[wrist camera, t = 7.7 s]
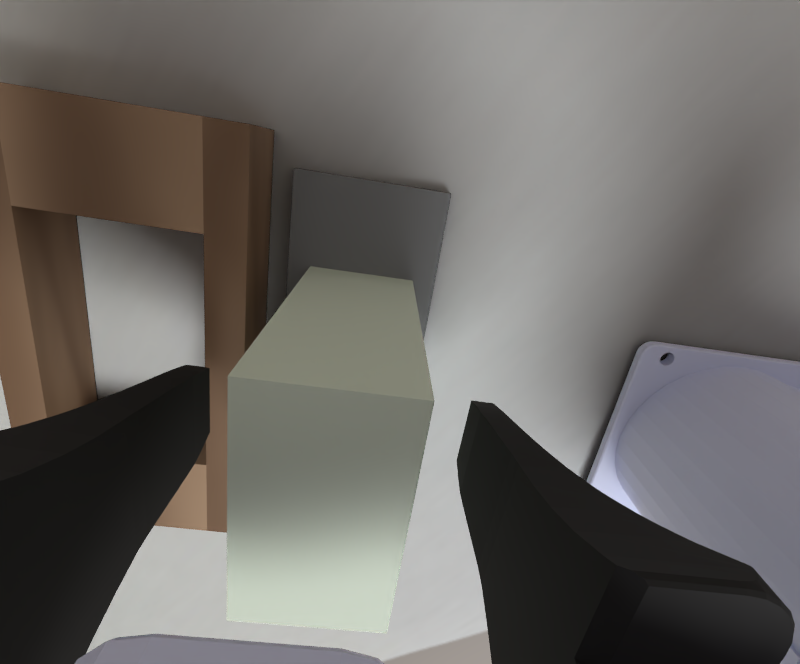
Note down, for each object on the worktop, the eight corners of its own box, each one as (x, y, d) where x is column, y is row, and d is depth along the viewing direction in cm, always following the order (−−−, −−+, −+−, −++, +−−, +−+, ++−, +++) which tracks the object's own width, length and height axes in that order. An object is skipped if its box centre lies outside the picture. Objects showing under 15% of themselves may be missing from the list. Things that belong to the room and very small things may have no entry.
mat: (449, 192, 14) (451, 193, 14) (395, 482, 19) (395, 489, 18) (296, 168, 14) (293, 168, 14) (277, 470, 18) (275, 476, 18)
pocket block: (274, 130, 13) (249, 124, 11) (258, 487, 19) (239, 533, 16) (19, 87, 13) (-62, 71, 11) (75, 467, 18) (28, 513, 16)
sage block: (412, 280, 15) (434, 401, 7) (388, 427, 17) (386, 633, 10) (310, 266, 15) (227, 376, 7) (298, 417, 17) (226, 620, 9)
